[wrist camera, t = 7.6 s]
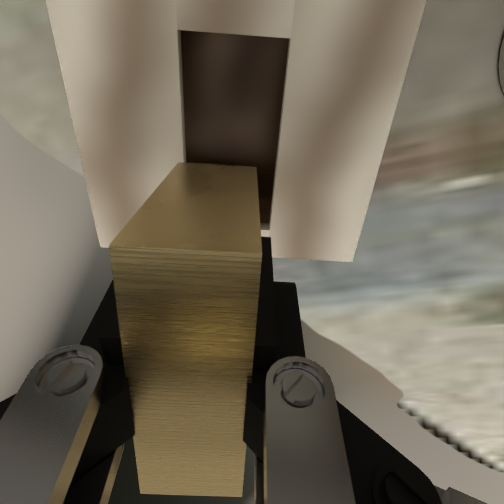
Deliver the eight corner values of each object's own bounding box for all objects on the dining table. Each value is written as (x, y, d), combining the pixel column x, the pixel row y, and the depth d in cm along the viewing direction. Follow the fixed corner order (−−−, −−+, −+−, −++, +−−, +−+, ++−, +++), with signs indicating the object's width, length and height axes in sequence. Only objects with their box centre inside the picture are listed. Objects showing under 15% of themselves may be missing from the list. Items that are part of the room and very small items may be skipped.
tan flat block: (245, 333, 14) (256, 166, 11) (241, 496, 8) (262, 253, 6) (183, 330, 14) (178, 162, 11) (140, 493, 8) (109, 244, 6)
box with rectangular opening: (360, -5, 25) (429, -8, 15) (323, 183, 33) (352, 261, 23) (126, -24, 24) (36, -40, 14) (147, 171, 32) (100, 247, 22)
